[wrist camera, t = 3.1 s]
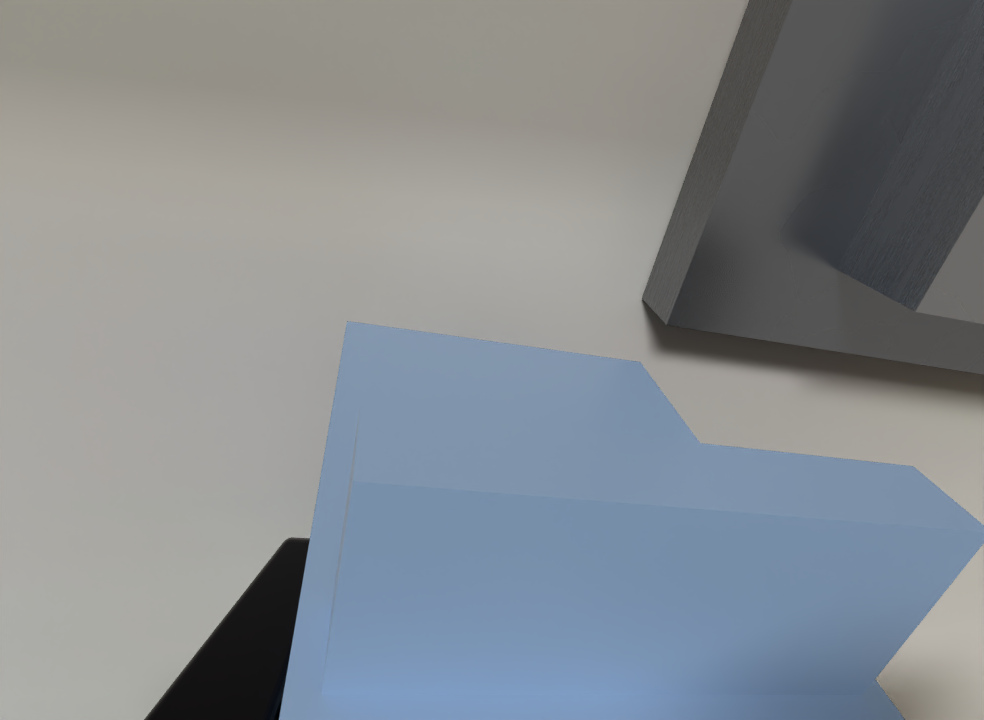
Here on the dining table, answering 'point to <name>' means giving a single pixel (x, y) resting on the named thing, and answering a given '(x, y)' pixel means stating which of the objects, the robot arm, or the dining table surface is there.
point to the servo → (593, 551)
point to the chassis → (839, 185)
